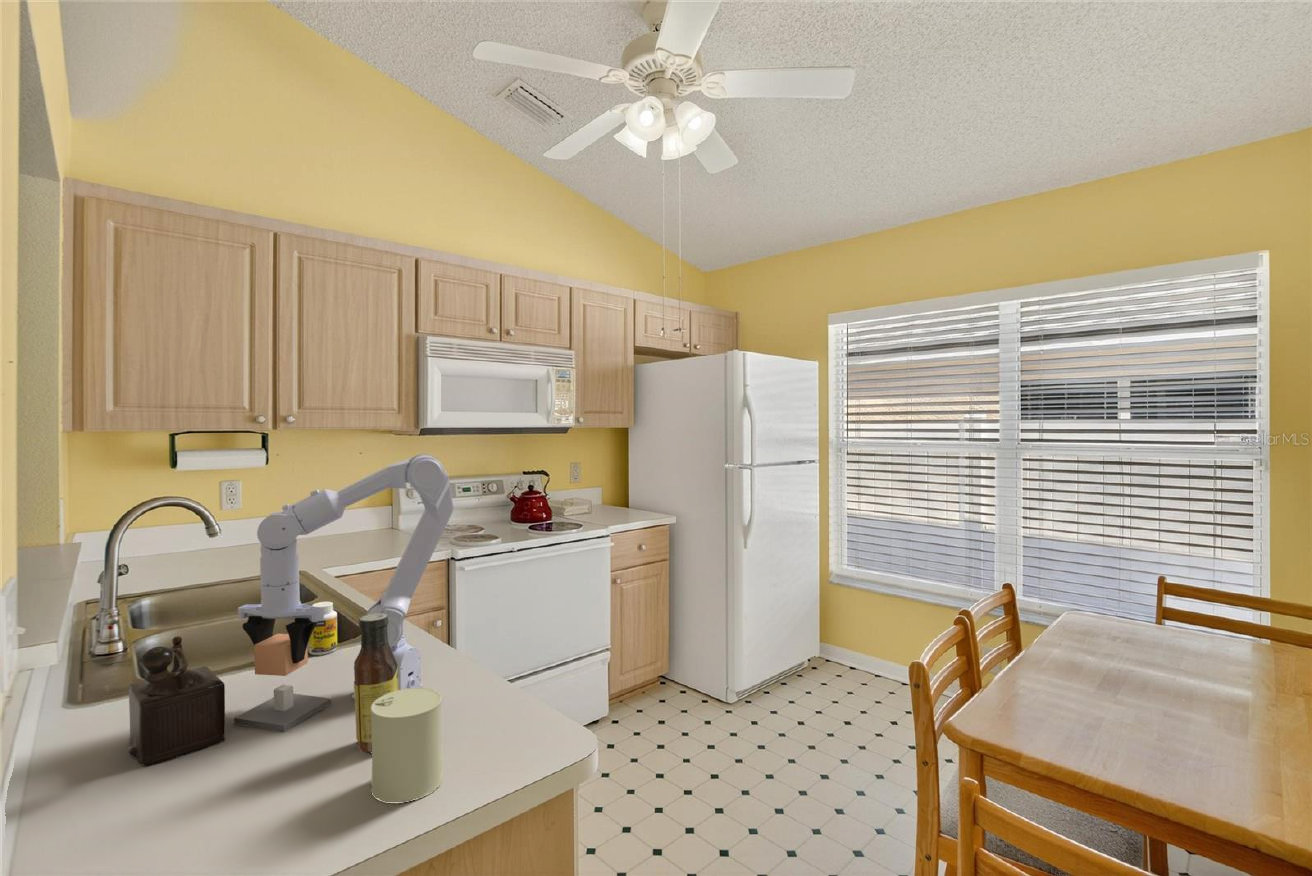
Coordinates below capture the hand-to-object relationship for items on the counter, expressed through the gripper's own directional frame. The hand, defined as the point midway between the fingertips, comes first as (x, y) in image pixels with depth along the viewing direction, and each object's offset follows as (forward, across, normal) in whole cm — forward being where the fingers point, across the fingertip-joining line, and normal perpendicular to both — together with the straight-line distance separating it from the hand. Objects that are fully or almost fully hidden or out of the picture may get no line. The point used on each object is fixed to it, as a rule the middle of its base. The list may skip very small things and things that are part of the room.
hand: (281, 660), depth 110 cm
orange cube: (+1, 0, 0) cm, 1 cm away
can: (+9, -33, +19) cm, 39 cm away
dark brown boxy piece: (+9, +6, +14) cm, 18 cm away
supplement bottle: (+9, +10, -26) cm, 29 cm away
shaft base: (+8, -2, +2) cm, 9 cm away
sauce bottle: (+9, -23, +9) cm, 26 cm away
